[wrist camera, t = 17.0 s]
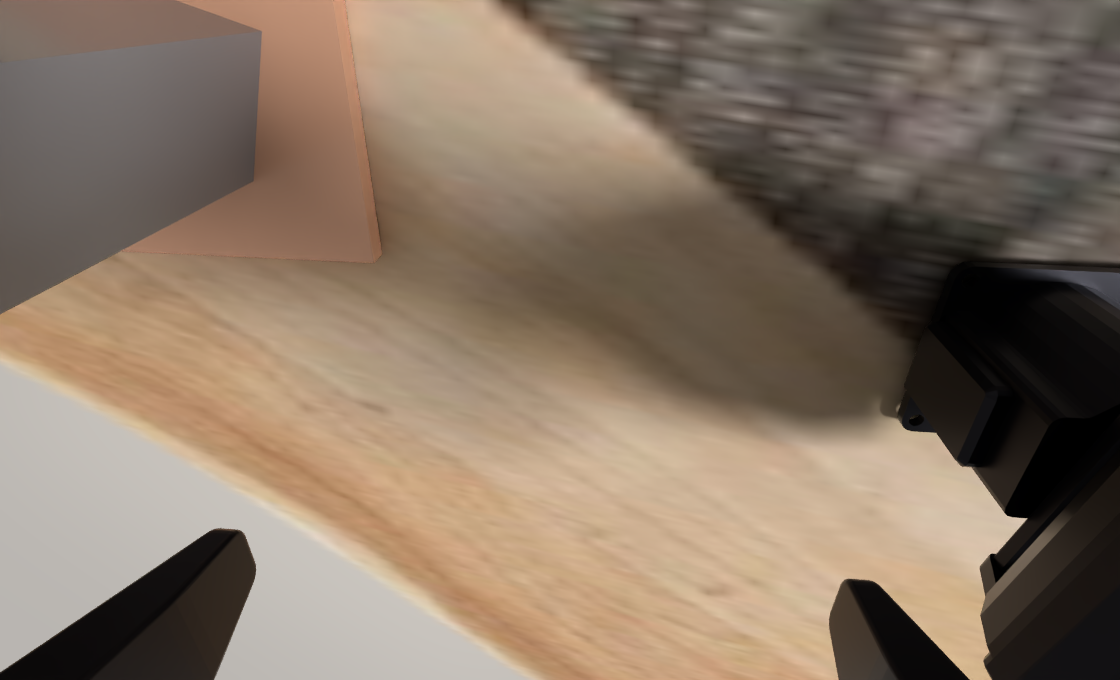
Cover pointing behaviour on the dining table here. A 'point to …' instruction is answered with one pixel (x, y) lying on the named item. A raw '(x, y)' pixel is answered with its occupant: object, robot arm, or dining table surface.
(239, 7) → the terracotta tile
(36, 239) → the gray pillar
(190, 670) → the robot arm
